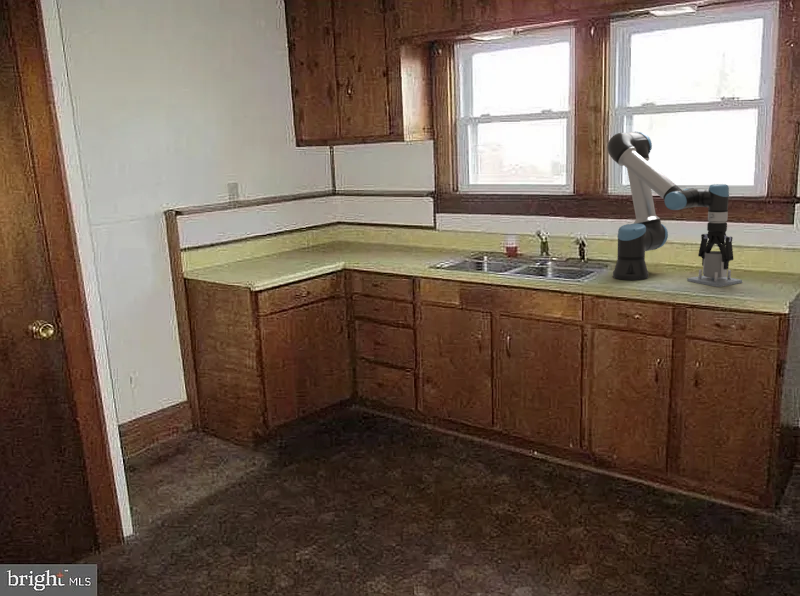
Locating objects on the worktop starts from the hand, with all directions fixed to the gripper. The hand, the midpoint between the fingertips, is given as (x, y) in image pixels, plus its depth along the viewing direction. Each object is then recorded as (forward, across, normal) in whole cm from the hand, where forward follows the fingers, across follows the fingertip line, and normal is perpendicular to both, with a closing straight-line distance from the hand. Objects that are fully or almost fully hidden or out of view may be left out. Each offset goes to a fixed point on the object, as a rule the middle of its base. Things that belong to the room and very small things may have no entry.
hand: (714, 275), depth 300 cm
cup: (+1, 0, 0) cm, 1 cm away
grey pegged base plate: (+3, 0, 0) cm, 3 cm away
